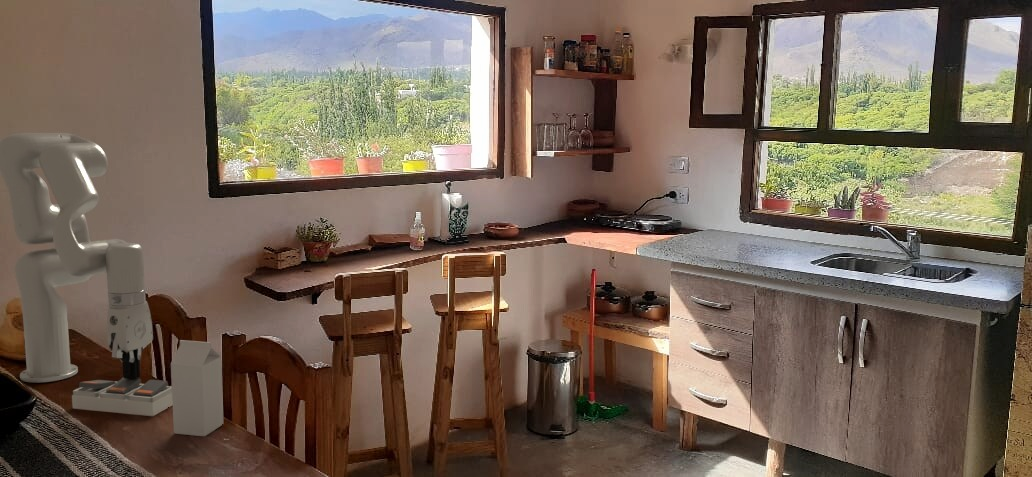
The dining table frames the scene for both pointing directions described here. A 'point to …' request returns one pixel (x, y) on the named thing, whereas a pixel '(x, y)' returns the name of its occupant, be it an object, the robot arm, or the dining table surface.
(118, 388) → the rocker
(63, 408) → the dining table surface
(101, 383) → the rocker
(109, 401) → the rocker switch box
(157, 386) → the rocker
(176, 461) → the dining table surface
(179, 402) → the milk carton
